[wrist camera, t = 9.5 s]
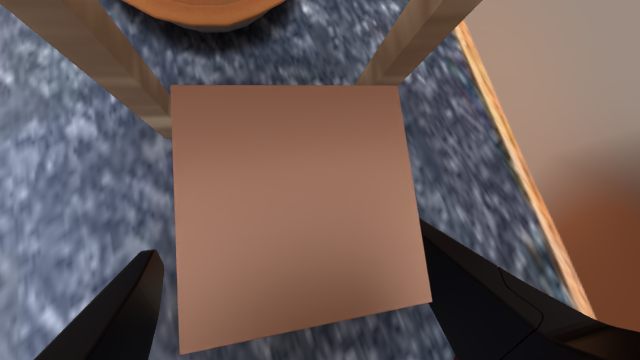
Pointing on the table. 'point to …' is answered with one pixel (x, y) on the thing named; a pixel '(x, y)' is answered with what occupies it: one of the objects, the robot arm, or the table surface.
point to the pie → (206, 12)
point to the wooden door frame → (149, 94)
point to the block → (291, 209)
